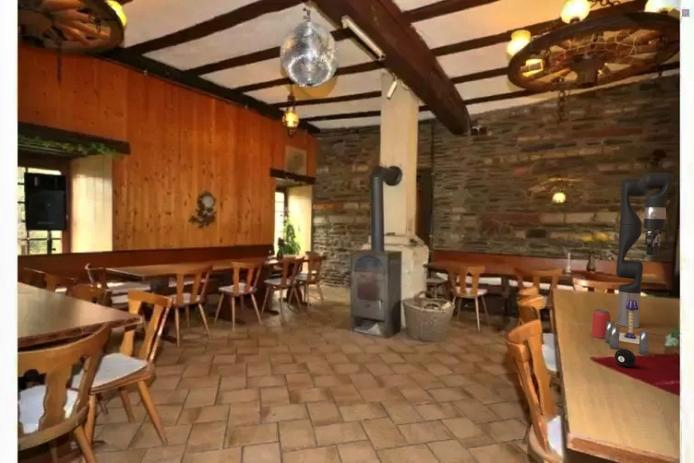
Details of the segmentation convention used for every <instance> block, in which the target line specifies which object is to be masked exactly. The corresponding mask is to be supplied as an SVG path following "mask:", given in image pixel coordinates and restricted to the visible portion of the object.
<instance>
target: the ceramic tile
mask: <svg viewBox="0 0 694 463" xmlns="http://www.w3.org/2000/svg"><path fill="white" fill-rule="evenodd" d="M625 334H626V333H625V332H623V333H622V332H620V333H619V342H625V343H631V344H638V345H639V338H640V335H638V334H634V335H635V336H636V339H632V338H626V337H624V336H625Z"/></svg>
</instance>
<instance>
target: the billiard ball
mask: <svg viewBox="0 0 694 463" xmlns="http://www.w3.org/2000/svg"><path fill="white" fill-rule="evenodd" d="M614 360H615V362H616V363H617V364H618V365H620V366H621V365H622V367H625V366H627V367H628V368H629V367H631V366H632V367H633V365H635V363H636V354H635V353H633V351H631V350H629V349H626V348H620V349H618V350H615V353H614ZM627 367H626V368H627Z"/></svg>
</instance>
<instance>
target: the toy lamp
mask: <svg viewBox="0 0 694 463" xmlns="http://www.w3.org/2000/svg"><path fill="white" fill-rule="evenodd" d="M625 308H626V309H629V324H628V325H629V327H627V328H628V330H627V331H628V332H627V333H625V336H624V337H626V338H632V339H636V336H635V335H636V334H635V333H634V328H633V316H634V313H633V312H634V310H638V305H637V302H636V300H628V301H627V304H626V307H625Z"/></svg>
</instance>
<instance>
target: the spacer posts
mask: <svg viewBox="0 0 694 463" xmlns="http://www.w3.org/2000/svg"><path fill="white" fill-rule="evenodd" d="M620 327H621V326H619V325H616V324H615V321H612V320H610V321H606V334H605V339H604V343H606V344H609V349H611V350H614V351H617V350H619V348H620V347H619V346H620V341H619V333H621V332H620V331H621V328H620ZM639 336H640V338H639V344H638V354H639V355H643V356H649V347H650V331H649V330H645V329H644V330H642V329H640V330H639Z"/></svg>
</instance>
